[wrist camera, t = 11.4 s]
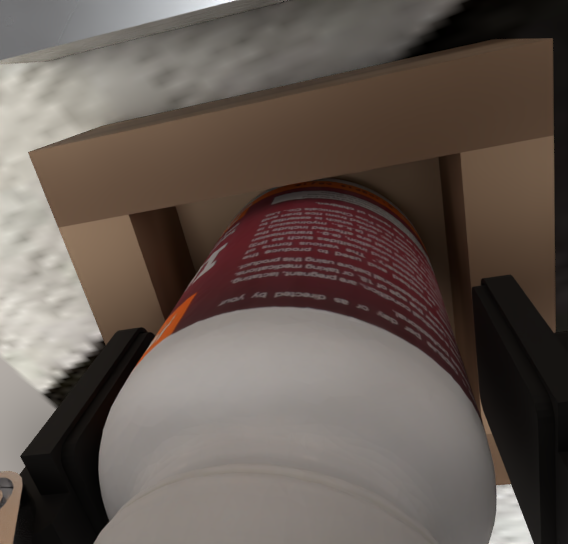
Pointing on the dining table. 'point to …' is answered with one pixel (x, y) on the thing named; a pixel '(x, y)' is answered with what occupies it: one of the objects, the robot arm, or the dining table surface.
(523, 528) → the dining table surface
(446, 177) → the tray
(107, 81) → the dining table surface
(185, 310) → the pill bottle
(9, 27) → the socket block
